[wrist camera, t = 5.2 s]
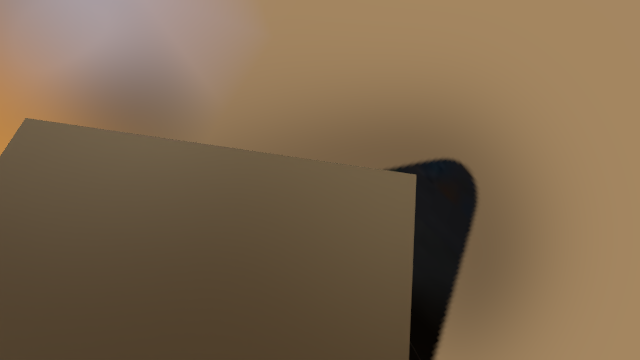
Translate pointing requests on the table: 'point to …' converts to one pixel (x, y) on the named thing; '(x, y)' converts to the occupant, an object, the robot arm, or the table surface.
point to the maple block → (197, 251)
